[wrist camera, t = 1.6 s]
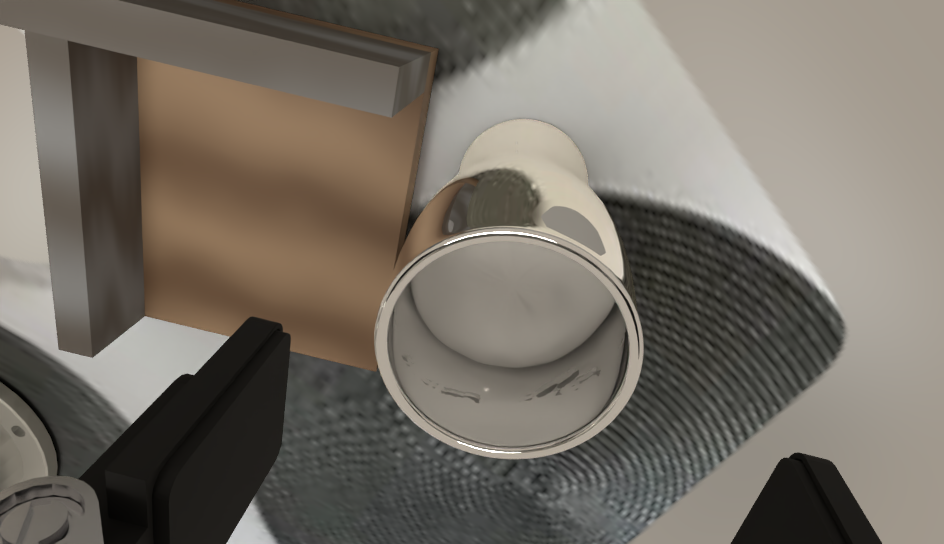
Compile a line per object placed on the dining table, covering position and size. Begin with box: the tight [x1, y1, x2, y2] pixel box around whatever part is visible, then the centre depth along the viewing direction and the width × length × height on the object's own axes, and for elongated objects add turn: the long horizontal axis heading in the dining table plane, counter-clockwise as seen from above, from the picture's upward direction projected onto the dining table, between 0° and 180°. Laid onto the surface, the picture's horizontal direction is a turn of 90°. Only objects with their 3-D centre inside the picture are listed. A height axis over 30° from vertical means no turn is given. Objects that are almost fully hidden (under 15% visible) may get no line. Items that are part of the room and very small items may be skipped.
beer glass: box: [374, 119, 644, 459], centre depth 21 cm, size 7×7×15 cm
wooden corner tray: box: [0, 0, 439, 372], centre depth 26 cm, size 16×14×8 cm
